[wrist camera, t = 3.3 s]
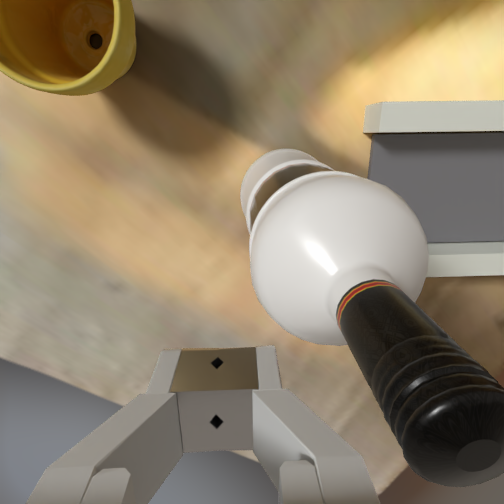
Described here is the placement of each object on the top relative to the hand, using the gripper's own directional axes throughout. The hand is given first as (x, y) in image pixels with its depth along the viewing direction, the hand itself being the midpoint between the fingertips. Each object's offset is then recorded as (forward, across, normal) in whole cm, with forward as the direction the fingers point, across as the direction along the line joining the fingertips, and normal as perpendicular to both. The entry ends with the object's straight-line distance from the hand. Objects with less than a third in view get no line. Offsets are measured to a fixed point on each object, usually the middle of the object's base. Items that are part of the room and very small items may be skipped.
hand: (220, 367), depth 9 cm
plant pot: (+27, +12, -14) cm, 33 cm away
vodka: (+27, -5, 0) cm, 28 cm away
